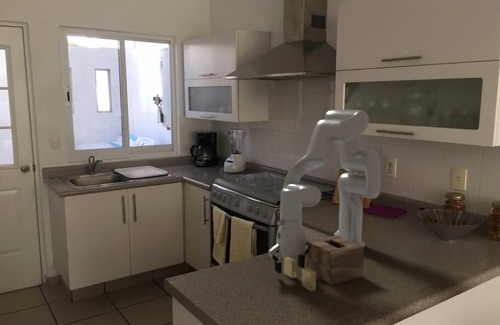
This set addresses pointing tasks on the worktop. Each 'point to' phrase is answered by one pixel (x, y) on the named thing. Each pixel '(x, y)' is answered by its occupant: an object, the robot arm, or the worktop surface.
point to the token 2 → (308, 279)
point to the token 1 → (290, 267)
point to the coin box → (335, 259)
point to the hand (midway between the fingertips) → (289, 269)
